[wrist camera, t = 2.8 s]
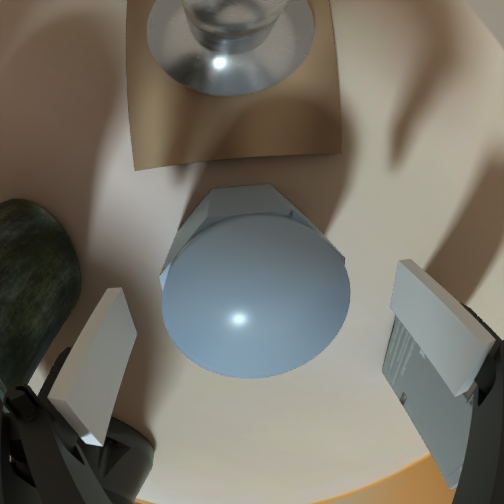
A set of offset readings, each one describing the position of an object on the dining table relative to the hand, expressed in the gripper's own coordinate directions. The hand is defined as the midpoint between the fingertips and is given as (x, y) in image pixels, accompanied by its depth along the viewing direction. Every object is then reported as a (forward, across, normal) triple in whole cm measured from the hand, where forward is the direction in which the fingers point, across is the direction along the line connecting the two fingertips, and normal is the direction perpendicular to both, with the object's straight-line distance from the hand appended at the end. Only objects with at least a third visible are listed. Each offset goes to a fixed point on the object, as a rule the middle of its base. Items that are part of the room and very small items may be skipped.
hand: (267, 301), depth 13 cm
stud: (+7, -1, +14) cm, 15 cm away
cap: (+6, -1, 0) cm, 6 cm away
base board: (+7, -1, +14) cm, 15 cm away
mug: (+6, -19, +2) cm, 20 cm away
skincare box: (+7, +15, -11) cm, 20 cm away
